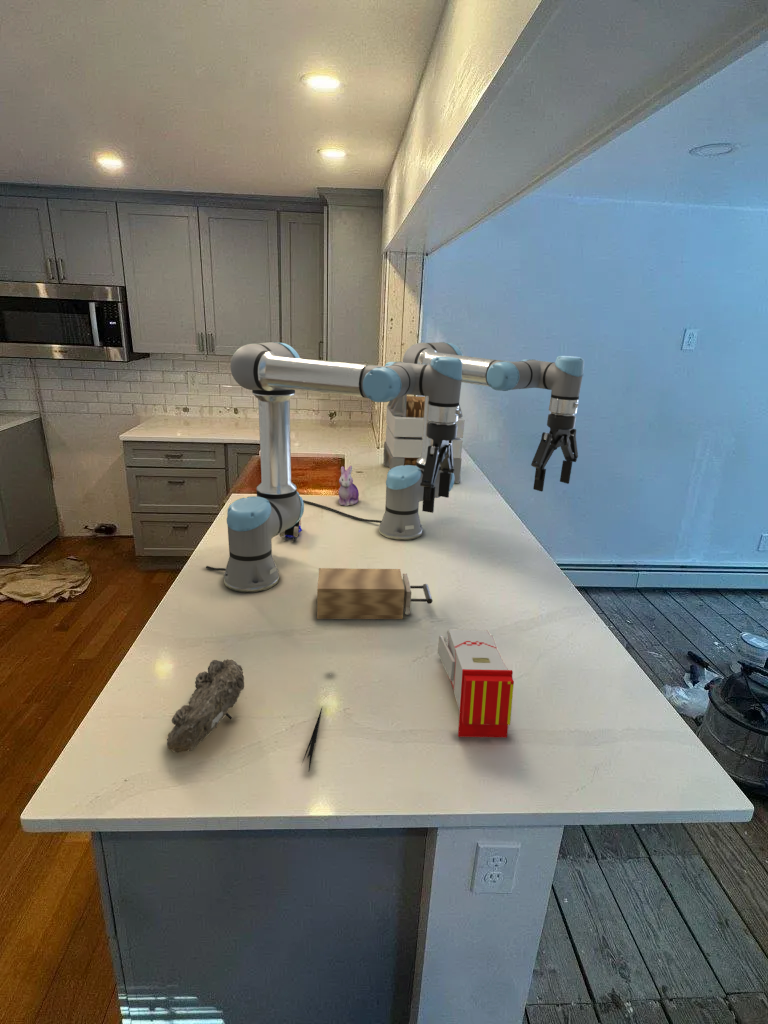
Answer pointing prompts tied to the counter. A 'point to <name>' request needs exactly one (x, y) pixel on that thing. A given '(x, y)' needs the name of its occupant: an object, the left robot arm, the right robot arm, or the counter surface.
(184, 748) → the fossil
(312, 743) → the feather
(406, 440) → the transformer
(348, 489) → the figurine
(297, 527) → the figurine character
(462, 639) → the toy
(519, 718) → the counter surface
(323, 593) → the cabinet
